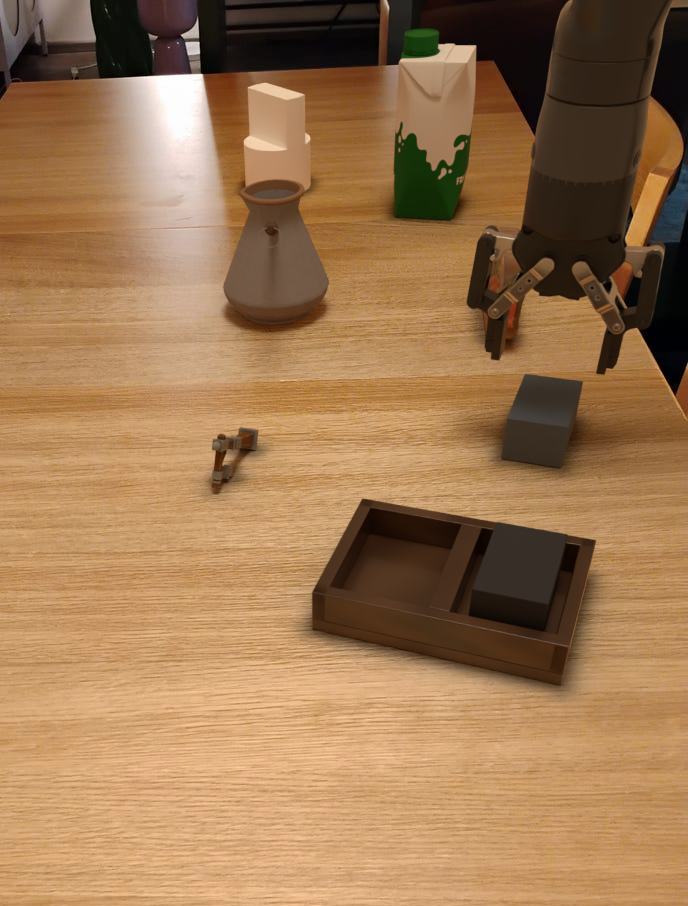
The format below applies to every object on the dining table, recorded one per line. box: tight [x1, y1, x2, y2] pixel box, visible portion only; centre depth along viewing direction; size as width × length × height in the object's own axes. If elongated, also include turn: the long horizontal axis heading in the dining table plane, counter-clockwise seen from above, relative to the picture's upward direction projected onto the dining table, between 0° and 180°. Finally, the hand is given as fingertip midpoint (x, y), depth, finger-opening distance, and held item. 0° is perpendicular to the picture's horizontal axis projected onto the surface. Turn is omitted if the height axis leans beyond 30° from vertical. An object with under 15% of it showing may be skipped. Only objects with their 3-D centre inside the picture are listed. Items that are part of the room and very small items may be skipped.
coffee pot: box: [222, 179, 330, 326], centre depth 105 cm, size 21×12×15 cm, turn 176°
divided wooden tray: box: [311, 497, 597, 686], centre depth 74 cm, size 18×12×4 cm
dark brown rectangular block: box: [469, 521, 569, 632], centre depth 72 cm, size 5×8×4 cm, turn 157°
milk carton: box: [393, 28, 477, 221], centre depth 125 cm, size 9×9×20 cm
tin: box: [482, 225, 526, 340], centre depth 105 cm, size 15×3×8 cm, turn 172°
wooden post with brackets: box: [211, 426, 259, 489], centre depth 90 cm, size 2×8×4 cm, turn 157°
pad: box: [500, 373, 584, 469], centre depth 89 cm, size 5×8×4 cm, turn 157°
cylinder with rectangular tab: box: [243, 82, 312, 192], centre depth 138 cm, size 9×9×12 cm
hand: (548, 363), depth 86 cm, fingers open, 8 cm apart
